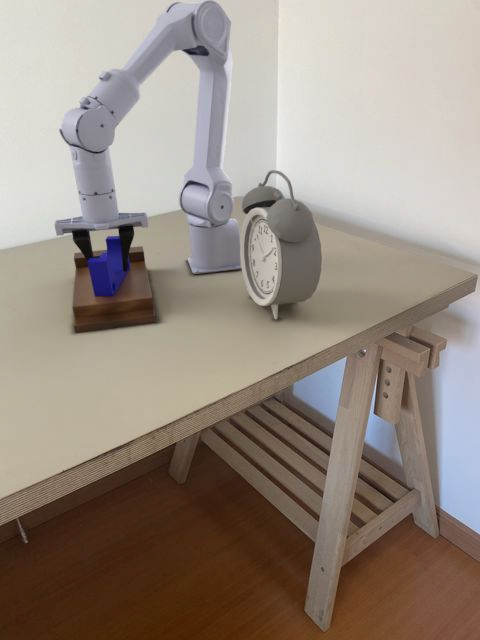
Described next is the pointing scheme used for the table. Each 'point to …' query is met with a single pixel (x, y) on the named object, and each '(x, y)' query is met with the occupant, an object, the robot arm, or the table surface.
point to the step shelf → (122, 307)
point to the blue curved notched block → (108, 269)
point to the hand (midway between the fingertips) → (110, 271)
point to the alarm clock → (278, 247)
